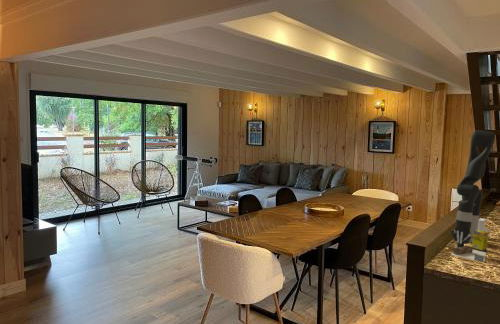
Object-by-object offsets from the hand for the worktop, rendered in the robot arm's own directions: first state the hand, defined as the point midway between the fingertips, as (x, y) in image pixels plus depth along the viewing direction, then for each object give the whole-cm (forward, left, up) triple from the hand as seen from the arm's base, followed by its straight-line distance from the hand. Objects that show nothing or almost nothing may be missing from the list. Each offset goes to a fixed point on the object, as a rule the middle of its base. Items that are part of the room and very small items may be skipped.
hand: (459, 249), depth 207 cm
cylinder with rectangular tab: (-53, +8, -2) cm, 53 cm away
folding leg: (+4, +2, 0) cm, 5 cm away
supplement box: (-18, +9, -2) cm, 20 cm away
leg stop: (+12, +10, -1) cm, 15 cm away
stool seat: (+3, +5, -2) cm, 6 cm away
